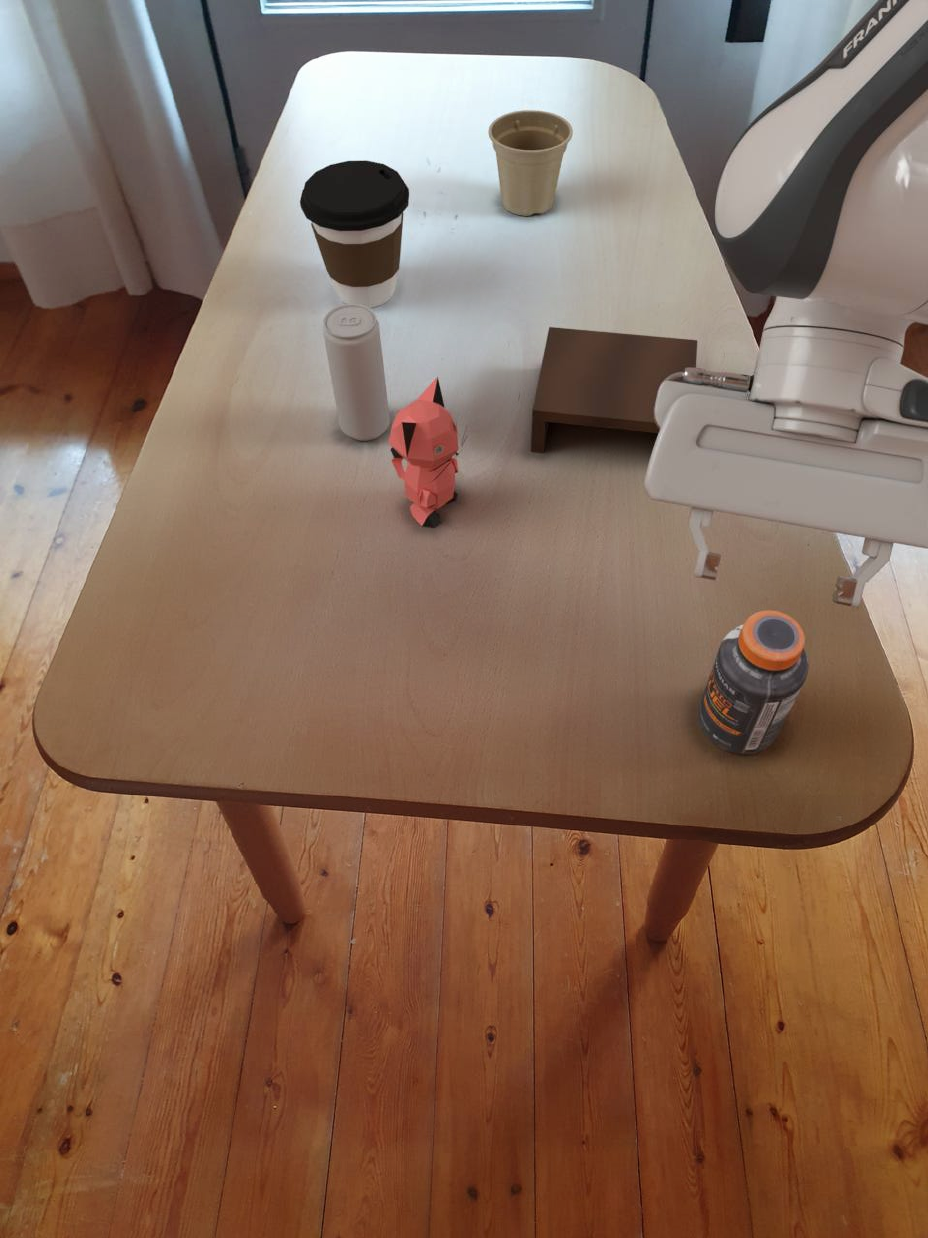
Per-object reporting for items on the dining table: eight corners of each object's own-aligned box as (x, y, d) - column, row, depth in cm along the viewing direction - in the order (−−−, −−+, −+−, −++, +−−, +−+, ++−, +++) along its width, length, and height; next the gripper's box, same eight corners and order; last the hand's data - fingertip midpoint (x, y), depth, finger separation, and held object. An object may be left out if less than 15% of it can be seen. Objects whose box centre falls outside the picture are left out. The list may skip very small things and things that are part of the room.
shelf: (688, 382, 93) (697, 339, 89) (683, 467, 86) (693, 426, 82) (546, 368, 94) (549, 326, 90) (530, 451, 87) (532, 409, 83)
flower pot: (569, 183, 115) (574, 110, 108) (566, 226, 109) (571, 152, 102) (492, 180, 116) (492, 108, 109) (485, 223, 110) (484, 149, 103)
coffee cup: (385, 251, 107) (374, 146, 97) (435, 299, 102) (429, 192, 92) (299, 284, 104) (279, 178, 94) (346, 335, 98) (330, 228, 89)
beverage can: (388, 444, 88) (375, 337, 79) (337, 444, 89) (318, 337, 79) (392, 409, 91) (380, 302, 82) (342, 409, 91) (324, 302, 82)
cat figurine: (444, 544, 81) (438, 439, 71) (375, 518, 83) (359, 413, 73) (481, 490, 85) (479, 383, 75) (413, 467, 86) (403, 360, 77)
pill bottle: (682, 701, 71) (710, 611, 62) (751, 677, 72) (789, 585, 63) (722, 768, 68) (758, 683, 58) (794, 741, 69) (840, 654, 60)
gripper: (663, 355, 61) (620, 565, 63) (1000, 406, 57) (941, 627, 60) (663, 368, 67) (624, 559, 69) (967, 414, 63) (915, 614, 66)
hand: (773, 591), depth 64 cm, fingers open, 8 cm apart
